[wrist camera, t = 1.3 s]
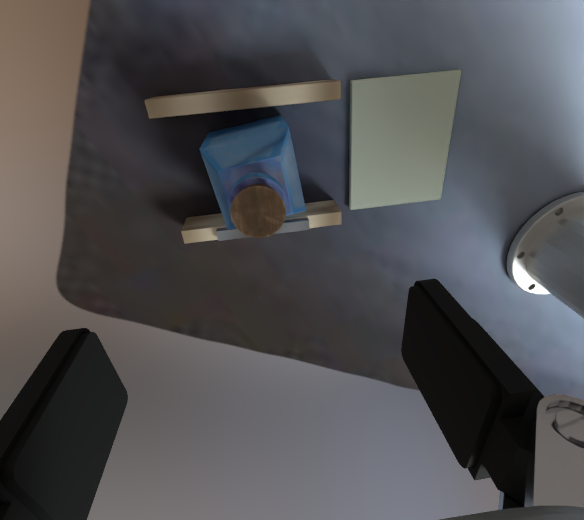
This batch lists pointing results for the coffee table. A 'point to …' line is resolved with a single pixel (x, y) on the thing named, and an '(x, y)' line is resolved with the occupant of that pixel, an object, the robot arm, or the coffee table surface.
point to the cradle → (245, 99)
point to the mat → (400, 137)
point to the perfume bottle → (254, 175)
